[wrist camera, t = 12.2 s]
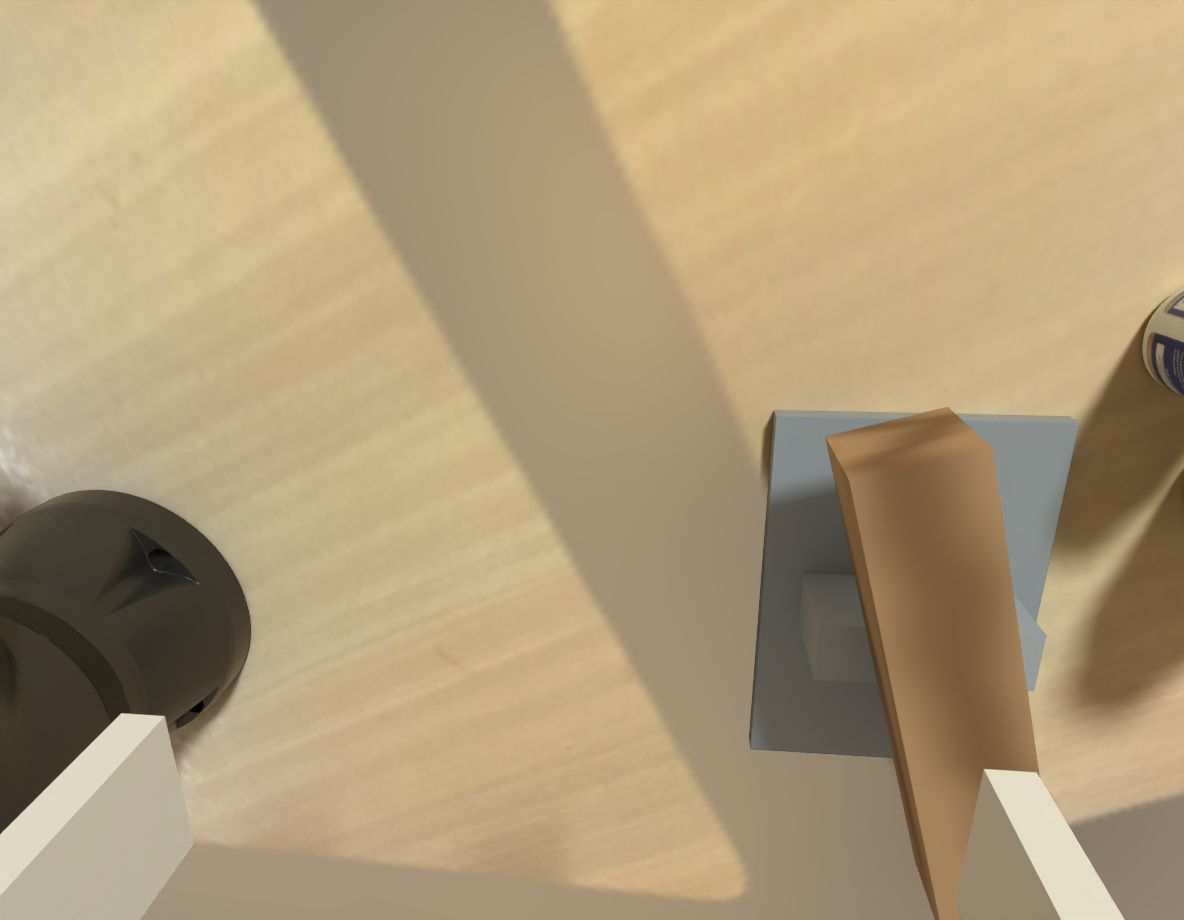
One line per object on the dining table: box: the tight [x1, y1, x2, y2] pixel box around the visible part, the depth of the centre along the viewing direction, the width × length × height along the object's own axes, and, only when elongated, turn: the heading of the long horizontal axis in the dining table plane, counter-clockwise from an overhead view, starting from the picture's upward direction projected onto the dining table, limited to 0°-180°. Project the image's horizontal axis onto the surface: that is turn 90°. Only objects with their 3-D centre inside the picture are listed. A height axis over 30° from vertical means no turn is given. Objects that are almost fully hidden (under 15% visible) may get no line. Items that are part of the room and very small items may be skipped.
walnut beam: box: [825, 407, 1040, 920], centre depth 35 cm, size 5×24×5 cm, turn 16°
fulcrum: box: [749, 410, 1079, 758], centre depth 40 cm, size 14×20×6 cm
